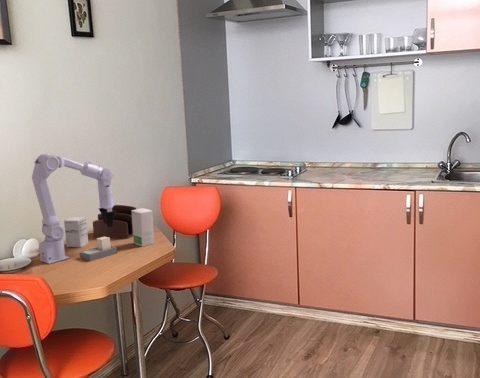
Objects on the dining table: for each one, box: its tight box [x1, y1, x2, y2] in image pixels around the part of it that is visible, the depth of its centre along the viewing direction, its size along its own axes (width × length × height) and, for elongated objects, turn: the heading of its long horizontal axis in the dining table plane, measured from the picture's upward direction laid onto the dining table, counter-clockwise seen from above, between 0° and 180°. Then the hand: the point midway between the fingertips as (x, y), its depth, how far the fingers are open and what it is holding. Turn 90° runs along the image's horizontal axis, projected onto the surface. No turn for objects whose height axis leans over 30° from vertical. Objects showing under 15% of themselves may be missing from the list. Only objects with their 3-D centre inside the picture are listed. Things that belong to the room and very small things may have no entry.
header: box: [79, 246, 118, 262], centre depth 229 cm, size 13×8×3 cm, turn 137°
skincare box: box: [131, 207, 155, 247], centre depth 242 cm, size 8×7×16 cm
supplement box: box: [63, 216, 89, 248], centre depth 246 cm, size 7×7×13 cm
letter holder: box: [92, 204, 137, 239], centre depth 261 cm, size 10×20×14 cm, turn 69°
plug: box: [96, 236, 111, 251], centre depth 231 cm, size 4×4×7 cm
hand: (108, 224), depth 241 cm, fingers open, 7 cm apart
